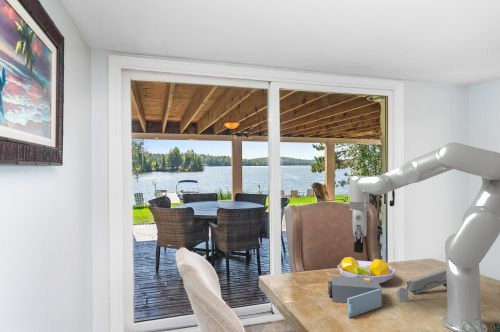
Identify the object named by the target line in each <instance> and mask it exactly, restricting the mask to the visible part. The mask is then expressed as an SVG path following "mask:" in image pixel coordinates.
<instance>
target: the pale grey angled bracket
mask: <svg viewBox="0 0 500 332" xmlns="http://www.w3.org/2000/svg"><path fill="white" fill-rule="evenodd" d="M408 280H409V282H408V284H407V283H406V287H400V288H399V289H397V290H396V297H397V298H396V299H397V302H399V303H405V302H407V303H408V302H409V292H410V293H412V292H411V291H412V288H413V286H414V282H412V281H410V280H411V279H408Z"/></svg>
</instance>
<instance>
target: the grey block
mask: <svg viewBox="0 0 500 332" xmlns="http://www.w3.org/2000/svg"><path fill="white" fill-rule="evenodd" d="M327 282H328V283H327V286H328V287H327V288H328V293H327V295H328V296H332V303H340V304H347V298H350V297H354V296H357V295H360V294H363V293H367V292H370V291H373V290H377V289H382V286H381V283H379V282H378V279H375V278H359V277H345V276H343V275H340V276H339V275H331V281H330V280H328V281H327Z"/></svg>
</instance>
